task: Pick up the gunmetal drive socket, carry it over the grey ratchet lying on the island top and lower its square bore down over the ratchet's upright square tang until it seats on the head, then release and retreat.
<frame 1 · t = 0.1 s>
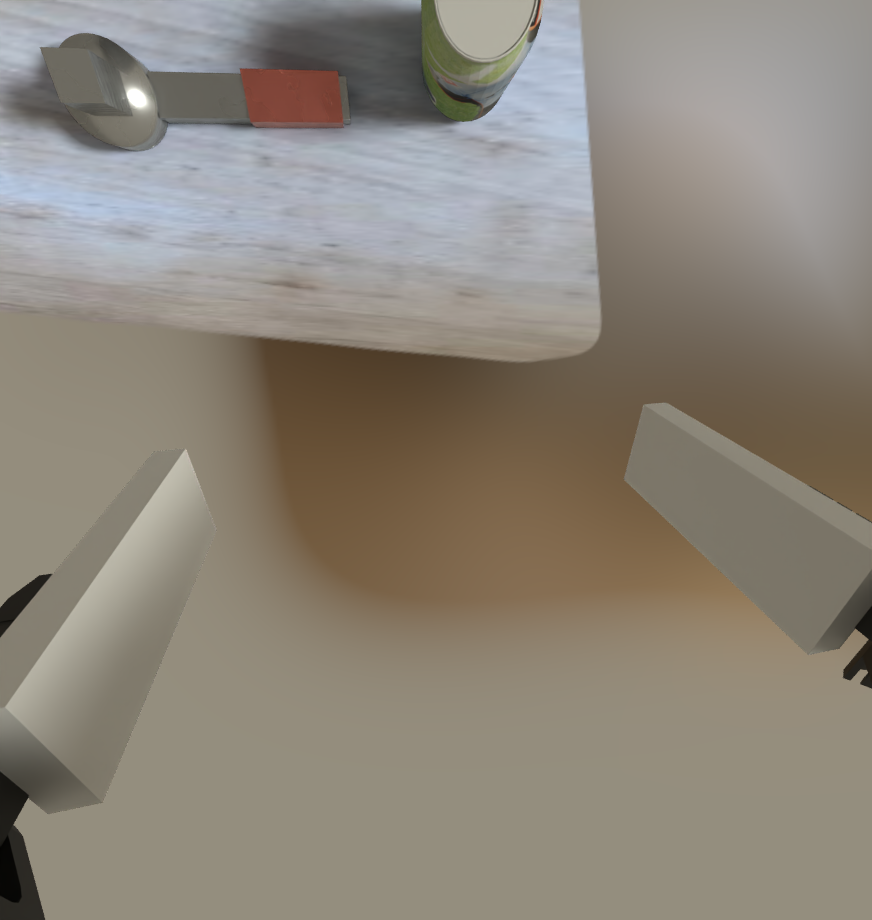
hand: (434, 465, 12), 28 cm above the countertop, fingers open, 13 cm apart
ratchet: (123, 101, 27), on the countertop
beverage can: (451, 70, 29), on the countertop
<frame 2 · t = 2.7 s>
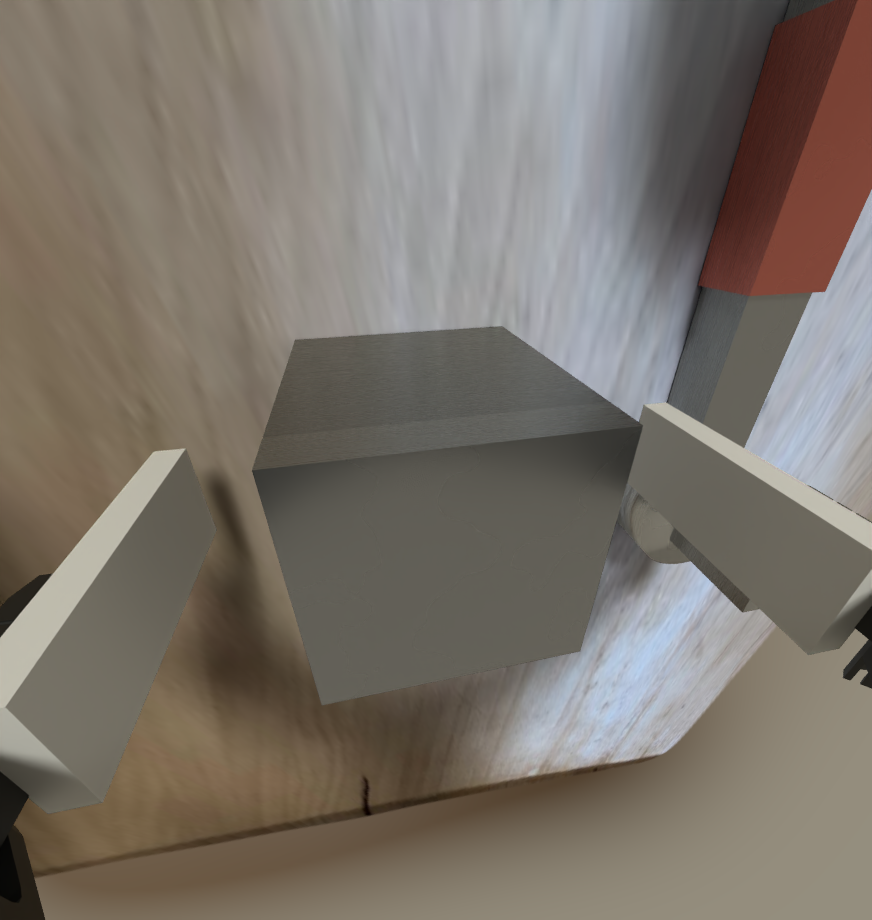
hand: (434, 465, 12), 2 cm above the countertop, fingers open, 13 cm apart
ratchet: (664, 482, 18), on the countertop
socket: (408, 426, 14), on the countertop
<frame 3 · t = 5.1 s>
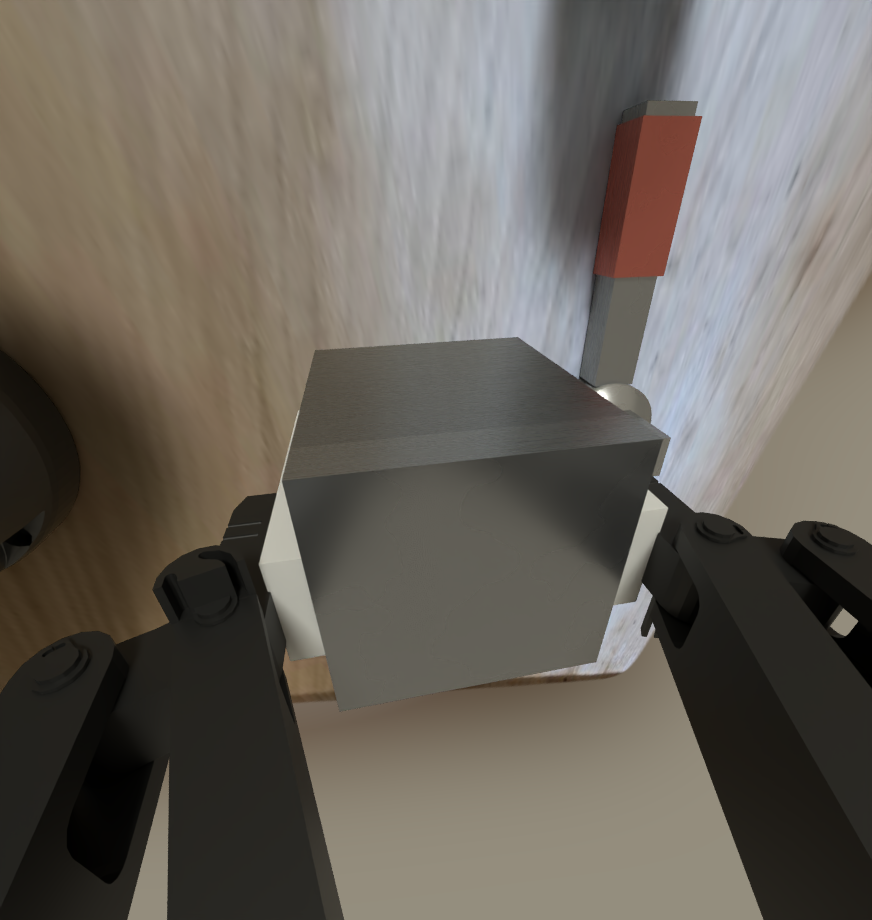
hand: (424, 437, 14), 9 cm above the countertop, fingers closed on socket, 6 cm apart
ratchet: (589, 413, 25), on the countertop
socket: (423, 434, 14), point 9 cm above the countertop, touching gripper
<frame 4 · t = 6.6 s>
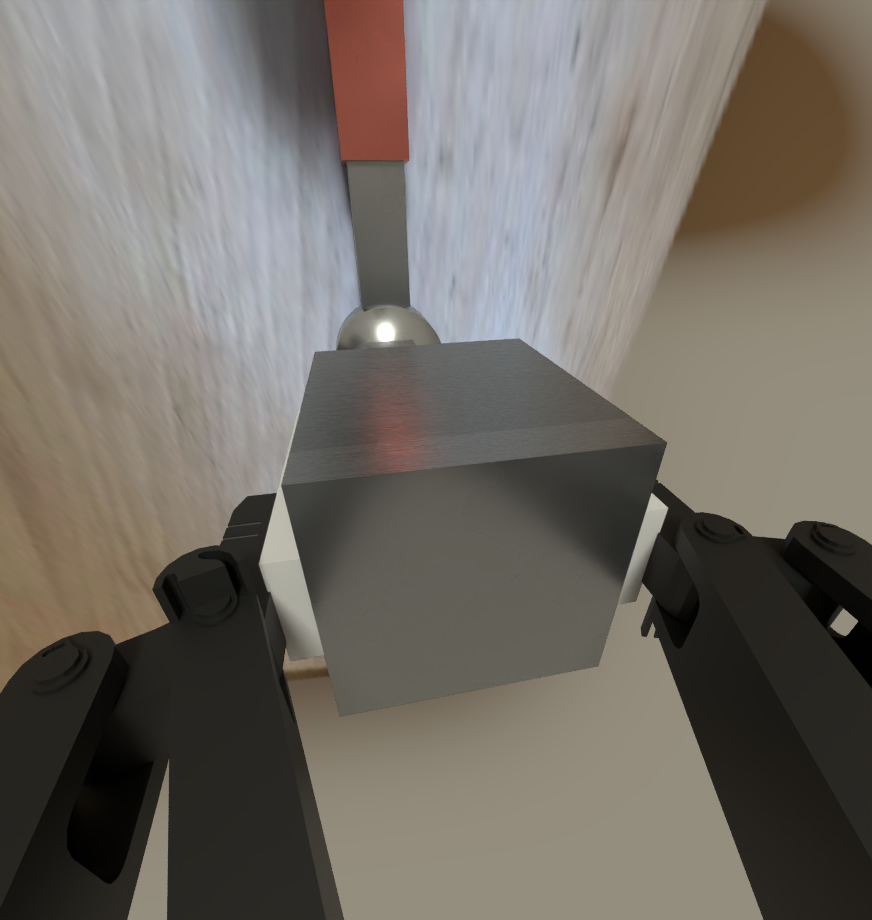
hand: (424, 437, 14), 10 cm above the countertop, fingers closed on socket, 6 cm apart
ratchet: (386, 350, 22), on the countertop
socket: (424, 436, 14), point 9 cm above the countertop, touching gripper
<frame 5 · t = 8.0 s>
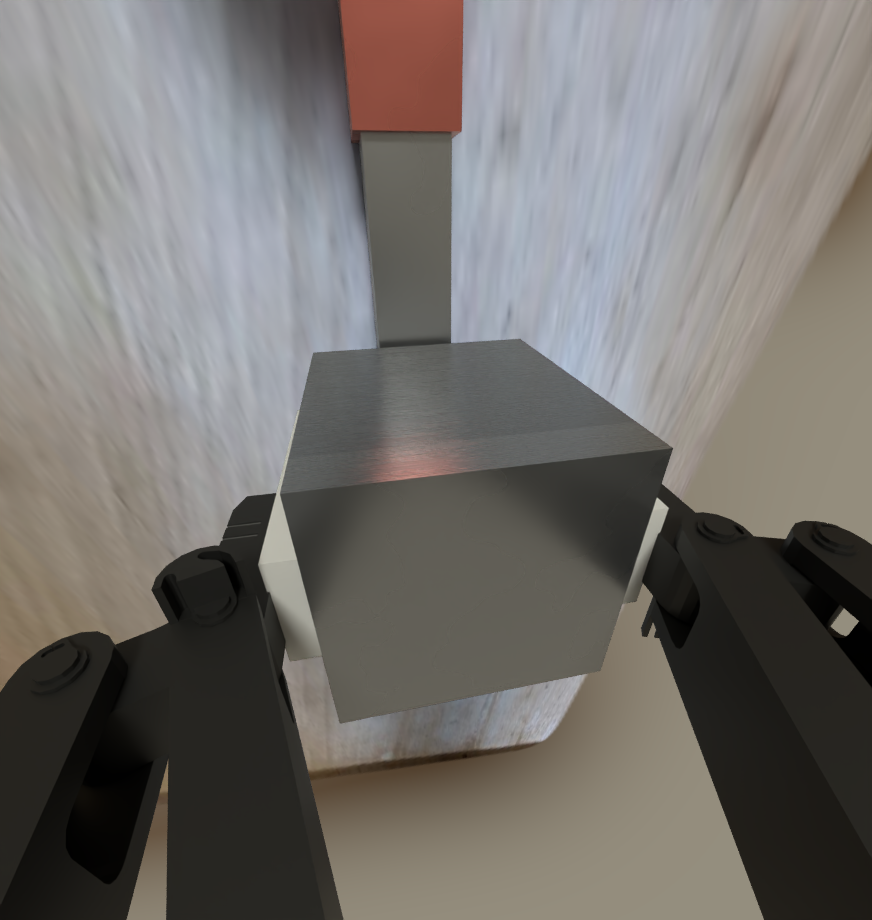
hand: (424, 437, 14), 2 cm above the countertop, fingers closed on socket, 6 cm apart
ratchet: (411, 408, 16), on the countertop
socket: (423, 437, 14), point 2 cm above the countertop, touching gripper, ratchet
when the fingers open (2 cm above the countertop, at t = 8.5 s): socket stays where it is, resting on ratchet.
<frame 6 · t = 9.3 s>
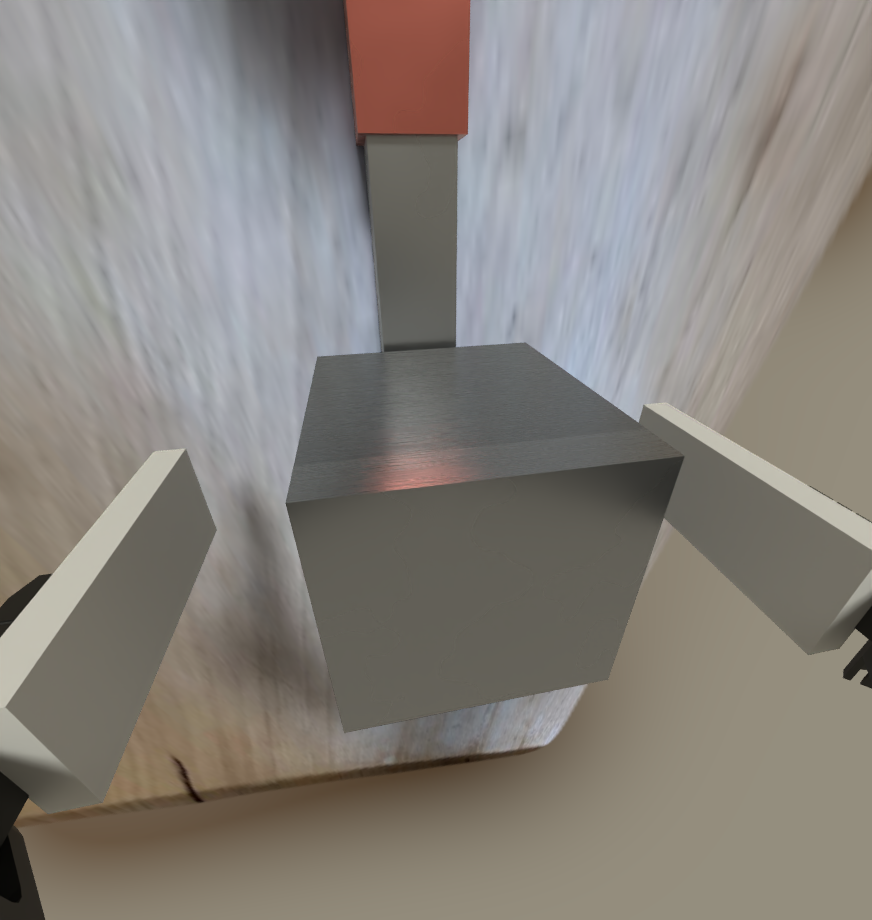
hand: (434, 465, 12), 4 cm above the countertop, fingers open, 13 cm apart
ratchet: (415, 411, 15), on the countertop
socket: (428, 442, 14), point 2 cm above the countertop, touching ratchet
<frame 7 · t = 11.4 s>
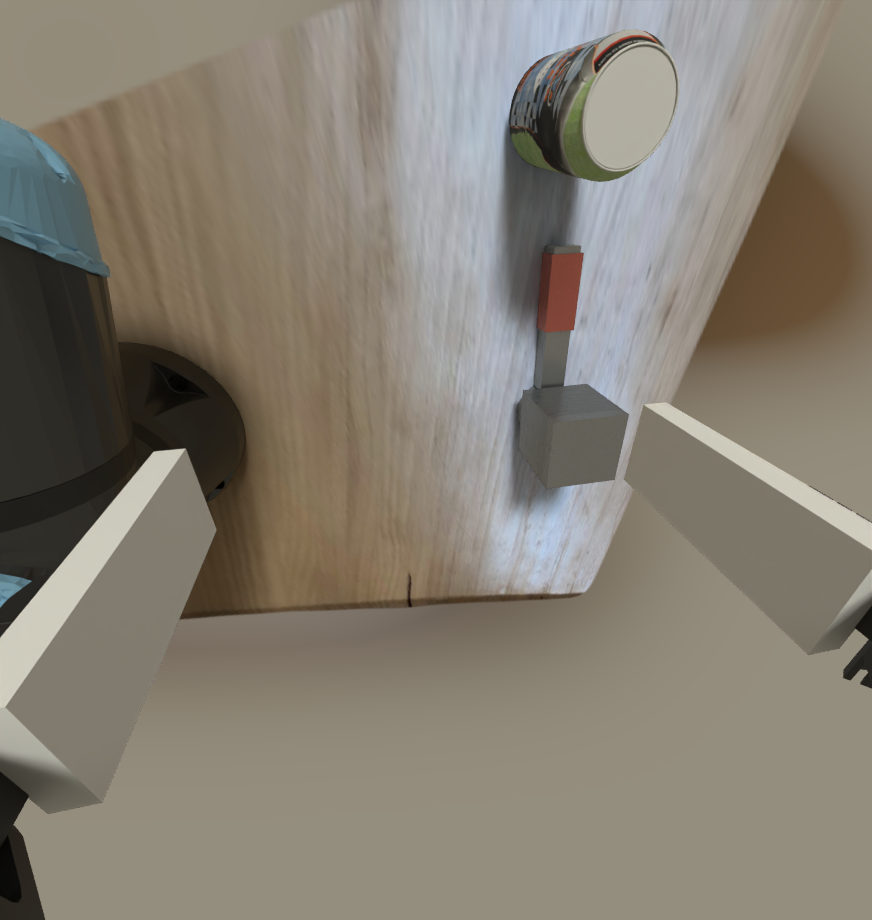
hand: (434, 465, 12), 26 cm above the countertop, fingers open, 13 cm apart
ratchet: (542, 407, 41), on the countertop
socket: (551, 417, 39), point 2 cm above the countertop, touching ratchet
beverage can: (542, 130, 30), on the countertop
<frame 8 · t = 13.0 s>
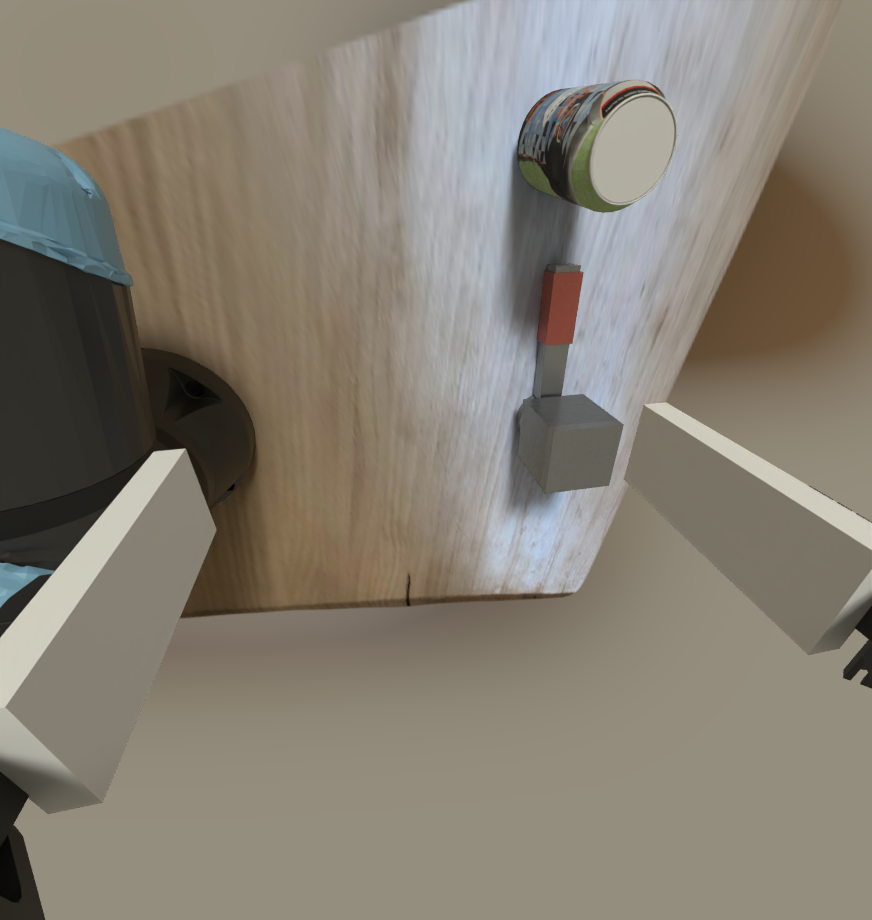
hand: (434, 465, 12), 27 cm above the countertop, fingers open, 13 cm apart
ratchet: (540, 415, 43), on the countertop
socket: (549, 425, 41), point 2 cm above the countertop, touching ratchet
beverage can: (547, 157, 32), on the countertop
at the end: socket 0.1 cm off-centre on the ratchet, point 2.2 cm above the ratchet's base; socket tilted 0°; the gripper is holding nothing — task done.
